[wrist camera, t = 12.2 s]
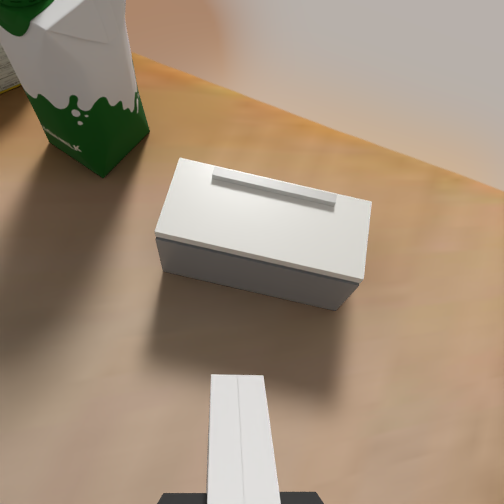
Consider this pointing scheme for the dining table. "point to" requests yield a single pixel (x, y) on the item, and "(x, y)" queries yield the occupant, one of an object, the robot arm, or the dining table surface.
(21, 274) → the dining table surface
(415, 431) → the dining table surface
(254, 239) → the cover
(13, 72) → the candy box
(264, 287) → the stand
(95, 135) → the milk carton
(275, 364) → the dining table surface
